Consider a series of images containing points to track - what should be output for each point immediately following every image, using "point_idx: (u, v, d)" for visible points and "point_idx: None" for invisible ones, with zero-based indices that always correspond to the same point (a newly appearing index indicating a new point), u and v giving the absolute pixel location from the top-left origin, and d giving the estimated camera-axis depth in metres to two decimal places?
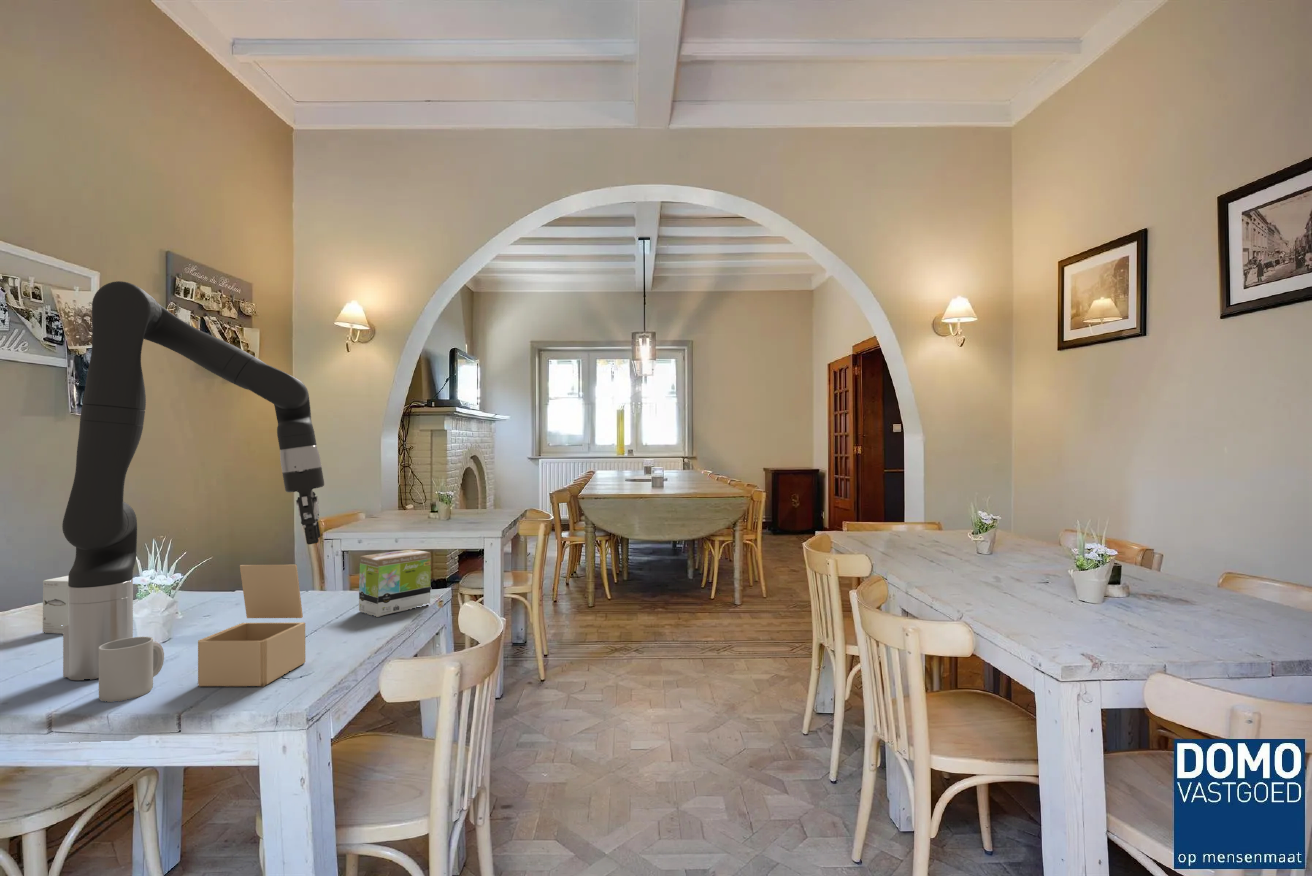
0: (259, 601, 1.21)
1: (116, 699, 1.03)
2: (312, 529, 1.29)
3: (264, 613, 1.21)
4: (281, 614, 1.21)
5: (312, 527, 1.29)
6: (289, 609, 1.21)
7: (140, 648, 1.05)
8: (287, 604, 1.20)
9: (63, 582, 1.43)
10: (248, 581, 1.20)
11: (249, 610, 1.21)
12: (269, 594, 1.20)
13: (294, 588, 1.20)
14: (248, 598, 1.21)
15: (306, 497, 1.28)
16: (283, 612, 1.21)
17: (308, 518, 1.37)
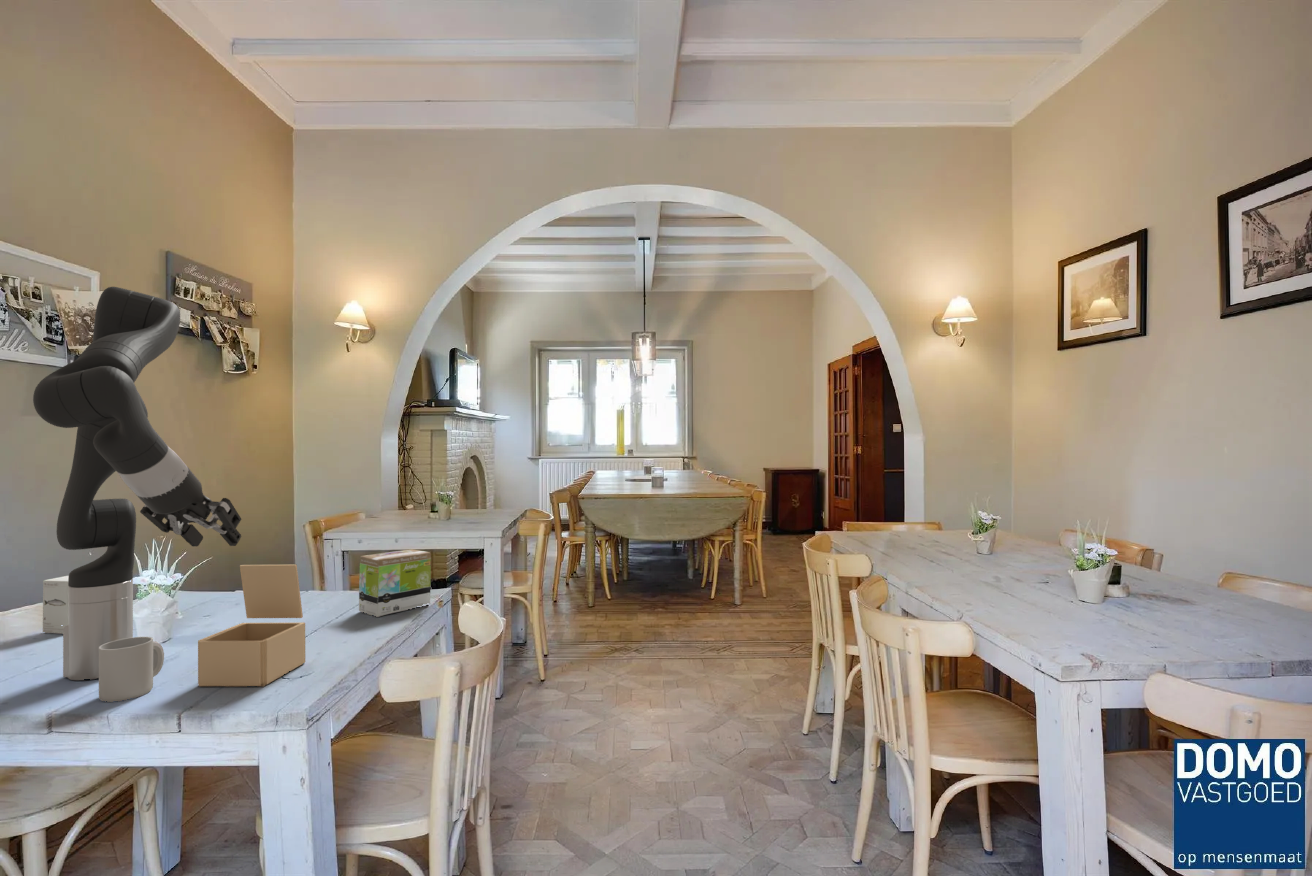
0: (259, 601, 1.21)
1: (116, 699, 1.03)
2: None
3: (264, 613, 1.21)
4: (281, 614, 1.21)
5: None
6: (289, 609, 1.21)
7: (140, 648, 1.05)
8: (287, 604, 1.20)
9: (63, 582, 1.43)
10: (248, 581, 1.20)
11: (249, 610, 1.21)
12: (269, 594, 1.20)
13: (294, 588, 1.20)
14: (248, 598, 1.21)
15: None
16: (283, 612, 1.21)
17: None
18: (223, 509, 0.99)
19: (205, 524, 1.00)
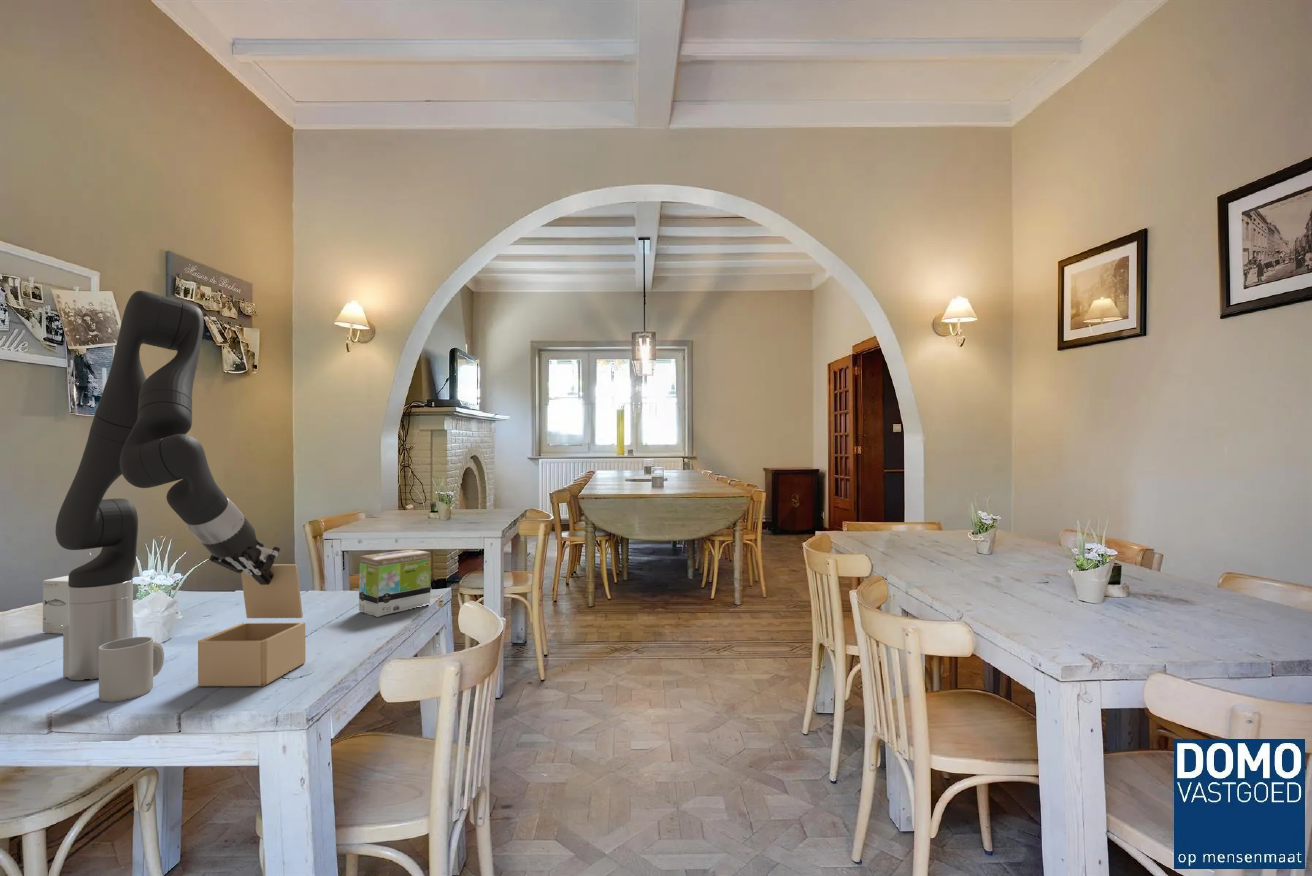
0: (259, 601, 1.21)
1: (116, 699, 1.03)
2: None
3: (264, 613, 1.21)
4: (281, 614, 1.21)
5: None
6: (289, 609, 1.21)
7: (140, 648, 1.05)
8: (287, 604, 1.21)
9: (63, 582, 1.43)
10: (248, 581, 1.20)
11: (249, 610, 1.21)
12: (269, 594, 1.20)
13: (294, 588, 1.20)
14: (248, 598, 1.21)
15: None
16: (283, 612, 1.21)
17: (259, 563, 1.16)
18: (275, 558, 1.13)
19: (251, 566, 1.13)
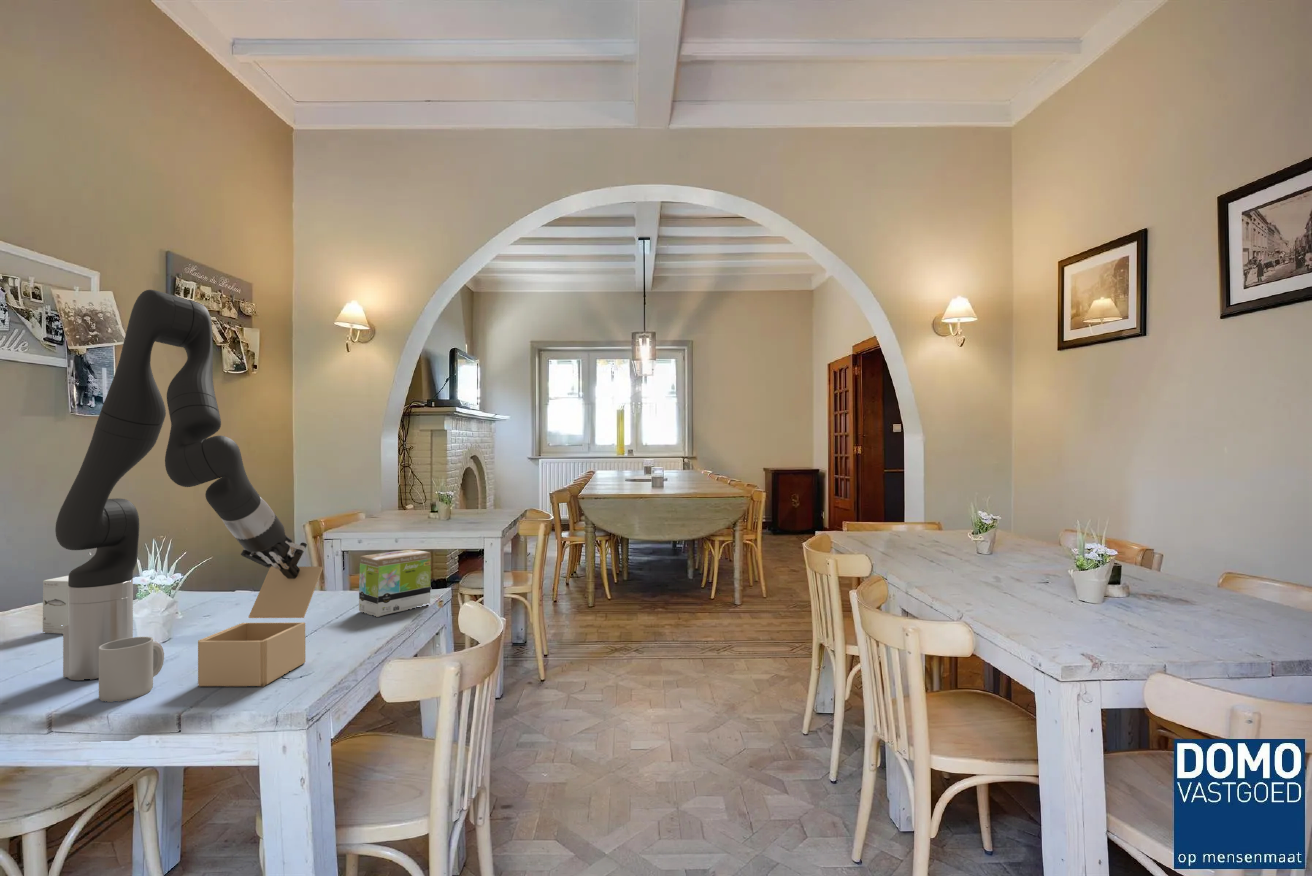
0: (270, 600, 1.24)
1: (116, 699, 1.03)
2: None
3: (268, 612, 1.22)
4: (284, 613, 1.22)
5: None
6: (295, 608, 1.22)
7: (140, 648, 1.05)
8: (295, 603, 1.23)
9: (63, 582, 1.43)
10: (270, 581, 1.26)
11: (255, 609, 1.23)
12: (283, 594, 1.24)
13: (310, 587, 1.25)
14: (260, 598, 1.24)
15: None
16: (287, 611, 1.22)
17: (287, 558, 1.24)
18: (302, 553, 1.20)
19: (280, 561, 1.21)
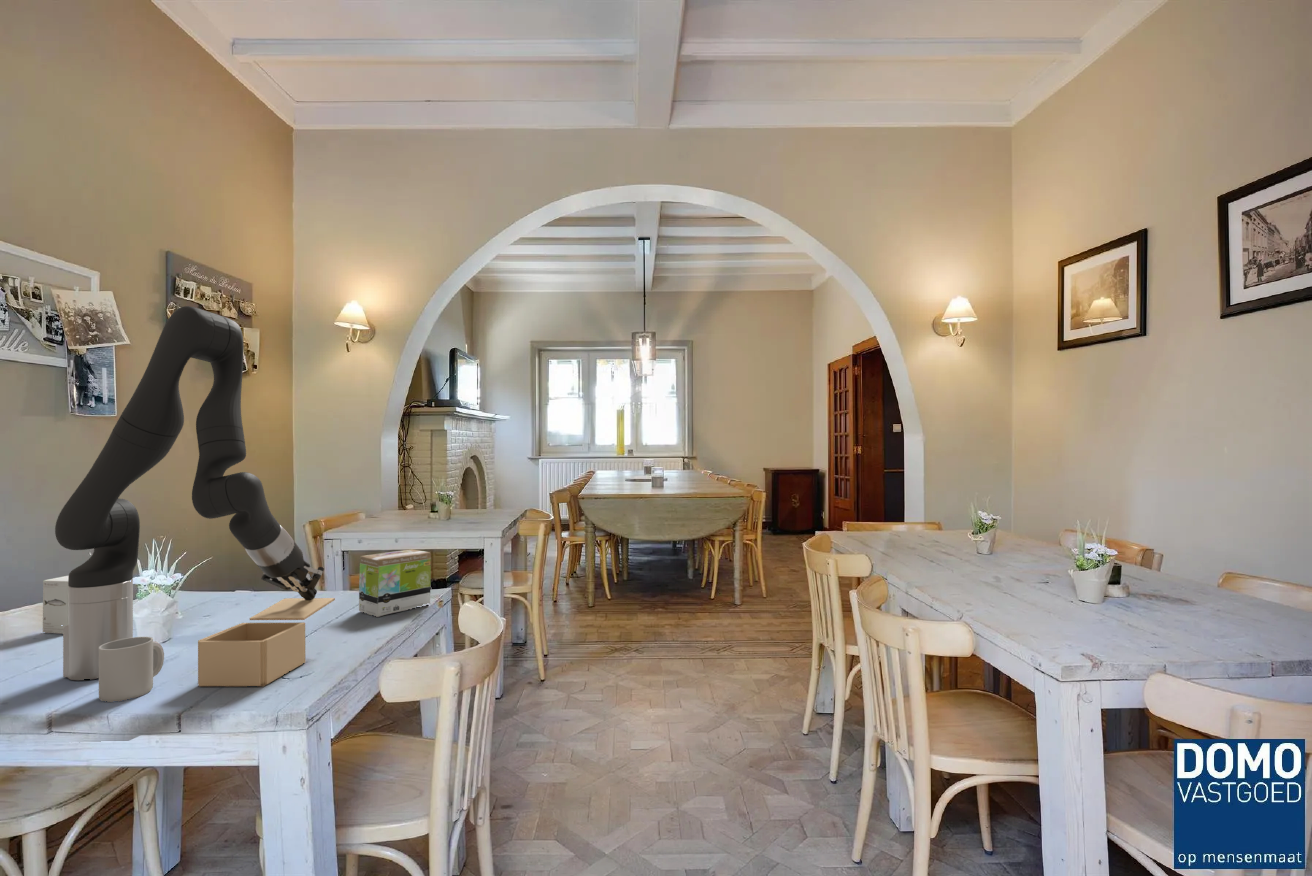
0: (275, 611, 1.25)
1: (116, 699, 1.03)
2: None
3: (270, 616, 1.23)
4: (286, 616, 1.22)
5: None
6: (298, 614, 1.23)
7: (140, 648, 1.05)
8: (300, 612, 1.25)
9: (63, 582, 1.43)
10: (280, 603, 1.30)
11: (258, 614, 1.24)
12: (290, 608, 1.27)
13: (318, 606, 1.28)
14: (267, 610, 1.26)
15: None
16: (289, 615, 1.23)
17: (305, 581, 1.30)
18: None
19: (298, 584, 1.26)
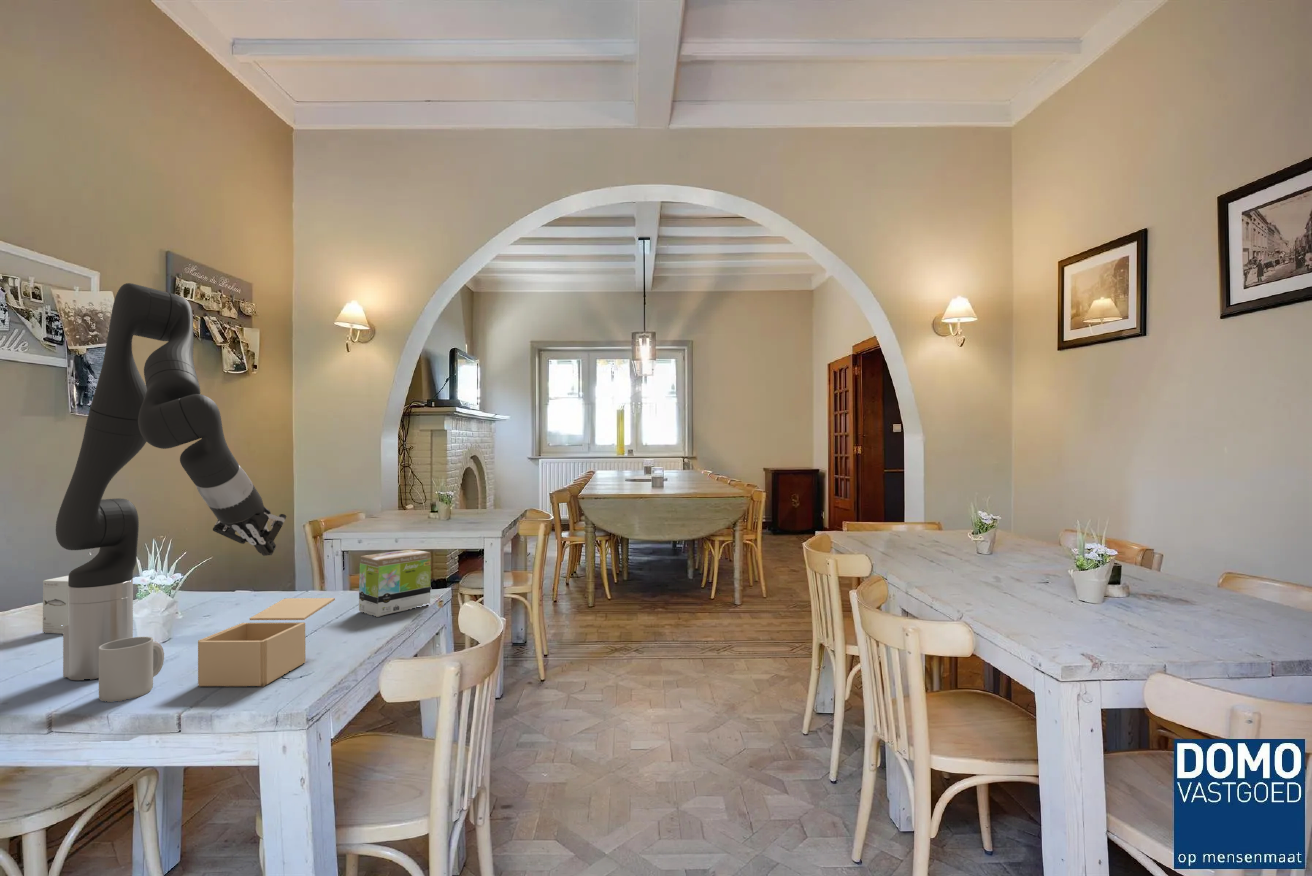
0: (275, 611, 1.25)
1: (116, 699, 1.03)
2: None
3: (270, 616, 1.23)
4: (286, 616, 1.22)
5: None
6: (298, 614, 1.23)
7: (140, 648, 1.05)
8: (300, 612, 1.25)
9: (63, 582, 1.43)
10: (280, 603, 1.30)
11: (258, 614, 1.24)
12: (290, 608, 1.27)
13: (318, 606, 1.28)
14: (267, 610, 1.26)
15: None
16: (289, 615, 1.23)
17: None
18: (282, 524, 1.15)
19: (257, 534, 1.14)
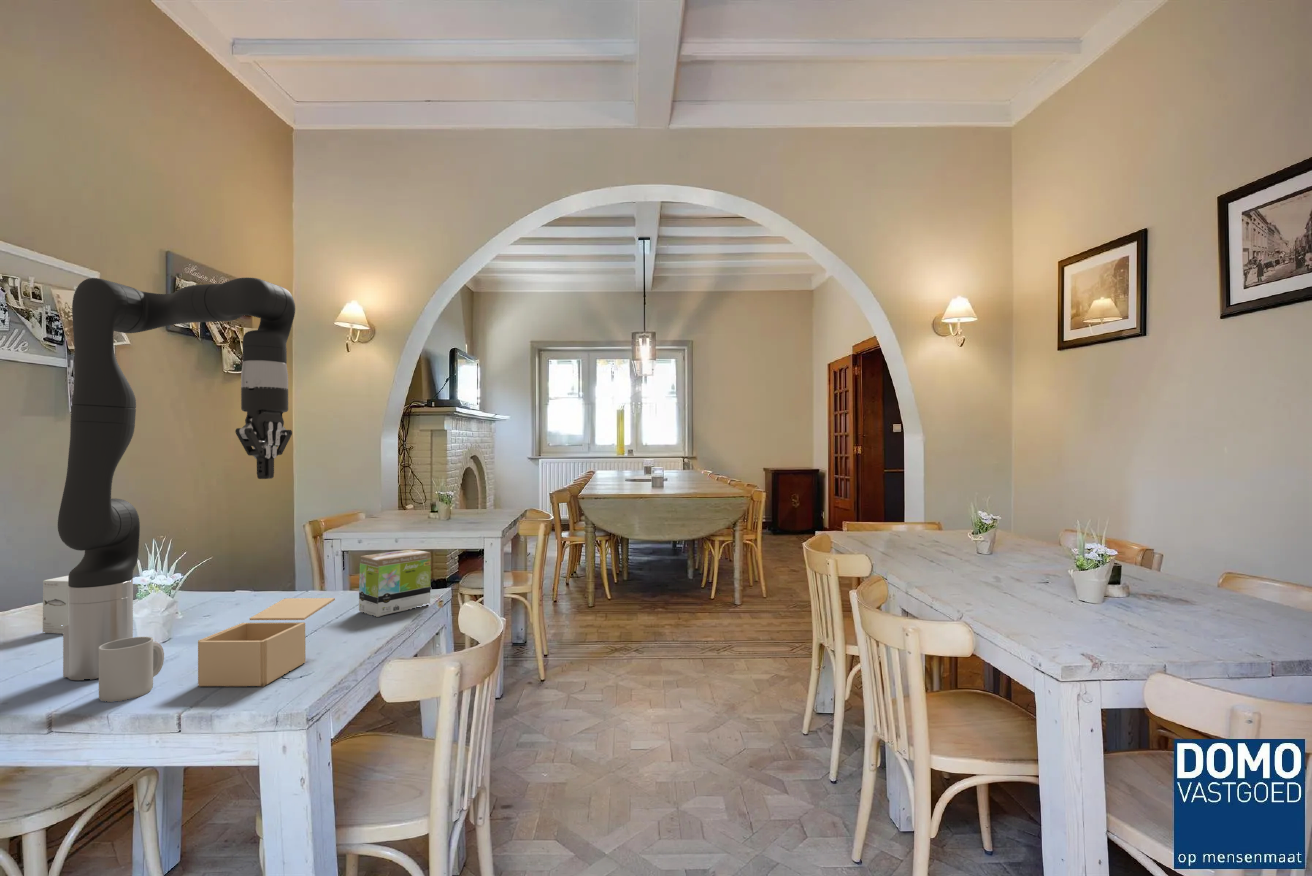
0: (275, 611, 1.25)
1: (116, 699, 1.03)
2: (262, 462, 1.13)
3: (270, 616, 1.23)
4: (286, 616, 1.22)
5: (262, 460, 1.13)
6: (298, 614, 1.23)
7: (140, 648, 1.05)
8: (300, 612, 1.25)
9: (63, 582, 1.43)
10: (280, 603, 1.30)
11: (258, 614, 1.24)
12: (290, 608, 1.27)
13: (318, 606, 1.28)
14: (267, 610, 1.26)
15: (244, 431, 1.09)
16: (289, 615, 1.23)
17: None
18: None
19: (278, 440, 1.16)
